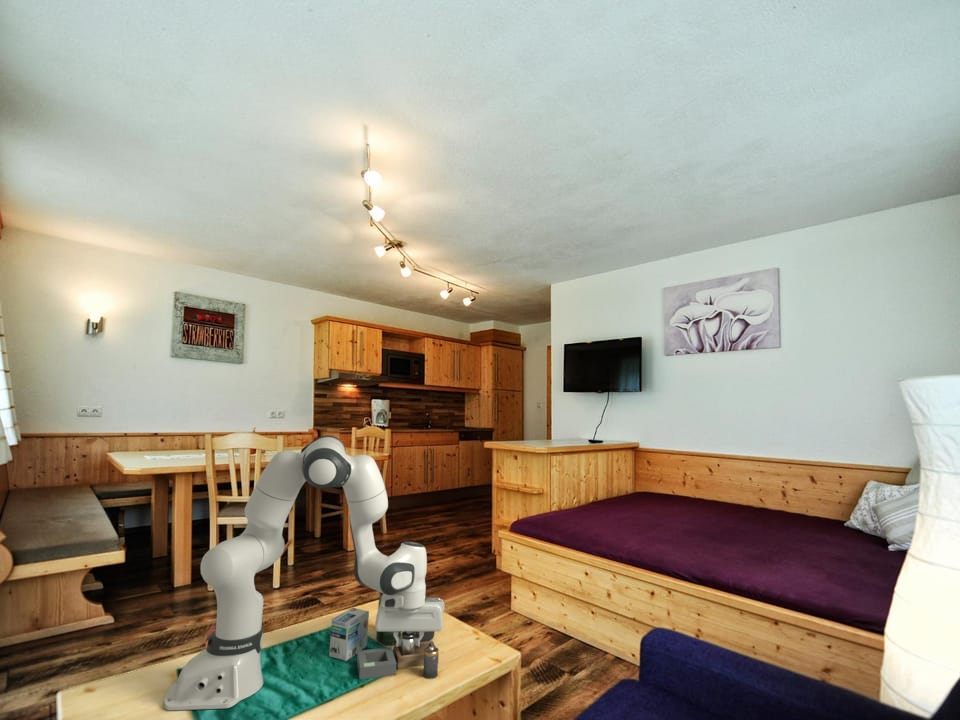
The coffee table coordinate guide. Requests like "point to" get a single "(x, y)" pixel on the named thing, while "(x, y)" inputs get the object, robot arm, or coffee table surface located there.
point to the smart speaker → (425, 636)
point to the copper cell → (430, 662)
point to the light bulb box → (349, 633)
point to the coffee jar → (386, 637)
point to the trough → (412, 656)
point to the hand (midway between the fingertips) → (408, 645)
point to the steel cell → (408, 643)
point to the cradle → (376, 663)
